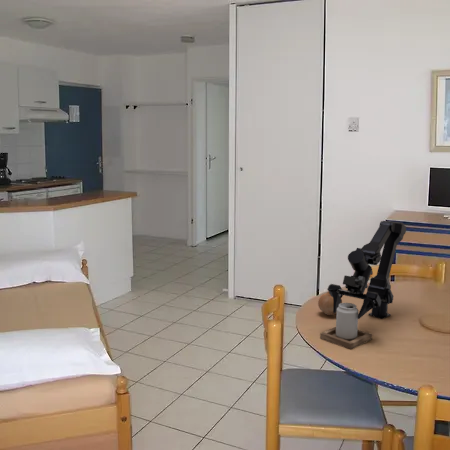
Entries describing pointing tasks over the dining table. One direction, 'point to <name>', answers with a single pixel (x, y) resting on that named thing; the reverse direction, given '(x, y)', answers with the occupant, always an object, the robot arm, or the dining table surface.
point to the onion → (326, 304)
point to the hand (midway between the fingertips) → (345, 315)
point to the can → (347, 321)
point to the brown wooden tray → (350, 344)
